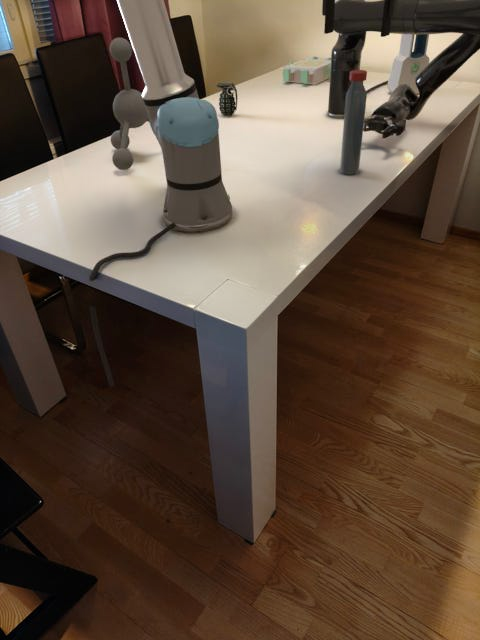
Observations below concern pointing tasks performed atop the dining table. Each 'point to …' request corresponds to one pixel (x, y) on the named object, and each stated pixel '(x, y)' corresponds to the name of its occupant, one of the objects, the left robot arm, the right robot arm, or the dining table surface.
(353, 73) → the cap
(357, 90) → the bottle
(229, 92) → the grenade
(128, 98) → the molecular model
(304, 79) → the decorative block
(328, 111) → the right robot arm
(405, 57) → the electronic device
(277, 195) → the dining table surface
